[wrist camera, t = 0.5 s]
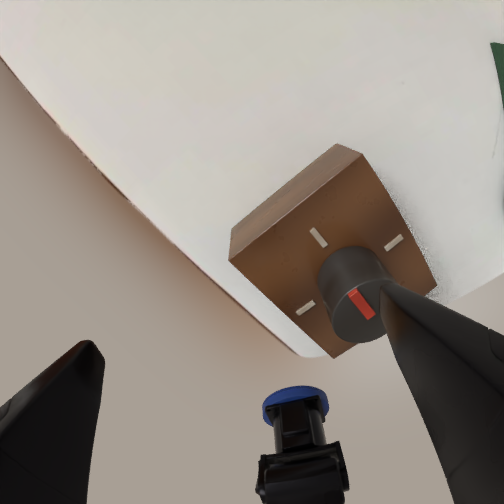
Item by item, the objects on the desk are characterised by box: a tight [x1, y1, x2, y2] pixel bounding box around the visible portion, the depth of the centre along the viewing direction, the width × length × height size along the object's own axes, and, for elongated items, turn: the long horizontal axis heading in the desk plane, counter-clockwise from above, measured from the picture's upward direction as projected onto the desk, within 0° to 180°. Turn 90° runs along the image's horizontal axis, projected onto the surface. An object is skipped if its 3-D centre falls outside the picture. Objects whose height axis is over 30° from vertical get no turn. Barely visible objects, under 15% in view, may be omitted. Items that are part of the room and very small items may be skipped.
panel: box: [228, 143, 437, 358], centre depth 21 cm, size 12×10×5 cm
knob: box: [317, 246, 398, 343], centre depth 17 cm, size 4×4×4 cm
